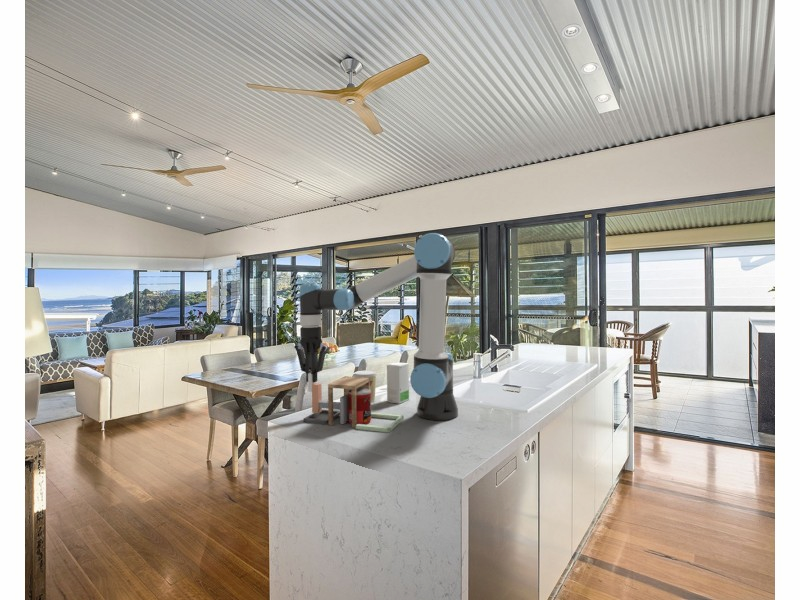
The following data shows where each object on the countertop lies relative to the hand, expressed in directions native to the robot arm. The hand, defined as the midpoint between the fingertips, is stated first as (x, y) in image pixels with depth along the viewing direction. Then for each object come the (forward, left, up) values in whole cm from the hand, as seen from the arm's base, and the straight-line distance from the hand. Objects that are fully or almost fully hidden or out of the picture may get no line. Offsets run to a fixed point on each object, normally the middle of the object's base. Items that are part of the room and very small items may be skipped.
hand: (312, 390), depth 153 cm
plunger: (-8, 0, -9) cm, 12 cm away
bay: (-26, 0, -10) cm, 28 cm away
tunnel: (-15, 0, -10) cm, 18 cm away
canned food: (-19, 0, -10) cm, 21 cm away
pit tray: (-4, 0, -10) cm, 11 cm away
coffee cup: (-10, -26, -10) cm, 30 cm away
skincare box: (-23, -30, -10) cm, 39 cm away
